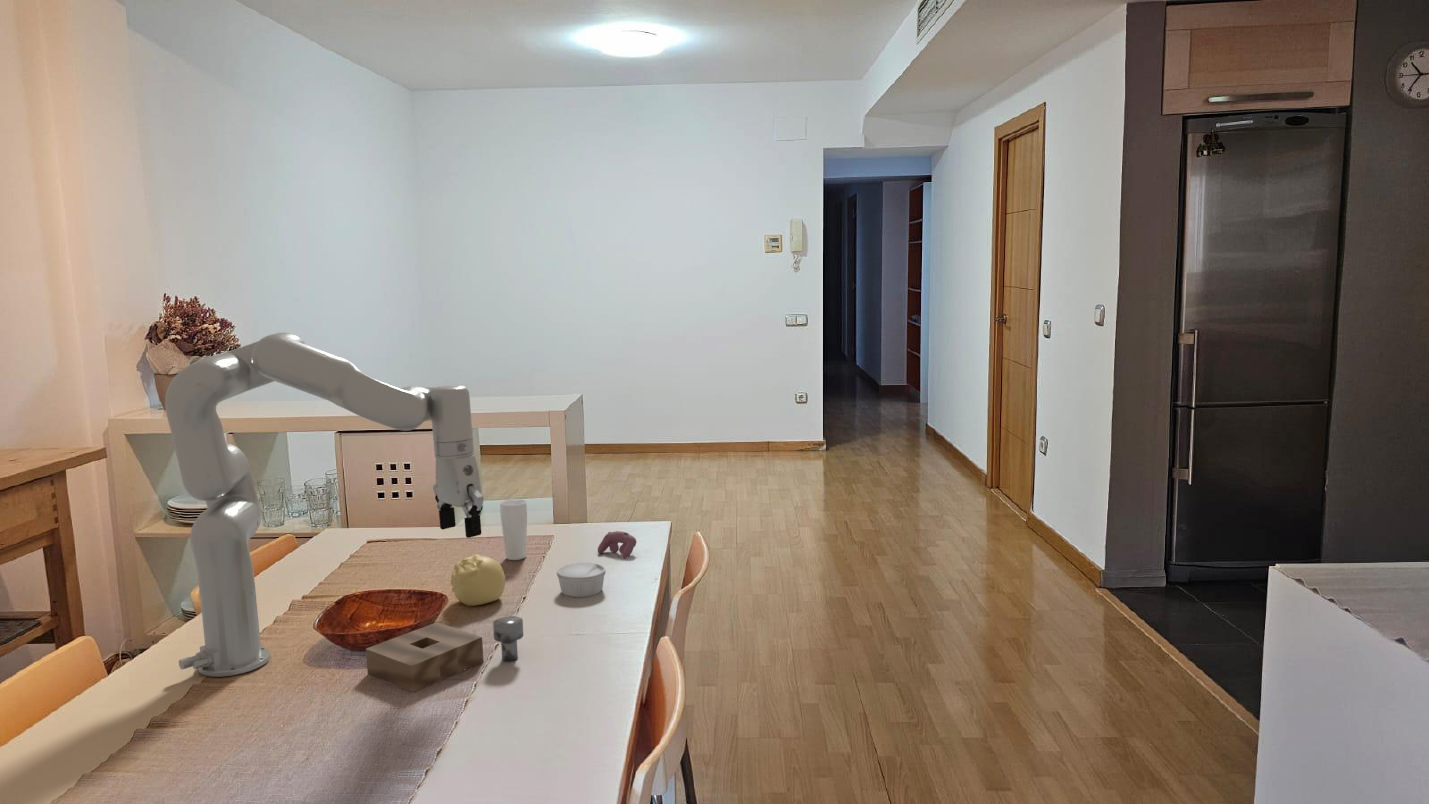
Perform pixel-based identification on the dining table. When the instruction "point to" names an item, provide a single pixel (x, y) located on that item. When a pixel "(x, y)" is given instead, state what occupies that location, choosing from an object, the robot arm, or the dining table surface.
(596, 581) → the ramekin
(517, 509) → the drinking glass
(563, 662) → the dining table surface
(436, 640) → the walnut block
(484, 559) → the sculpture
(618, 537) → the dark red animal figurine
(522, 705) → the dining table surface
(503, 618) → the steel pin
